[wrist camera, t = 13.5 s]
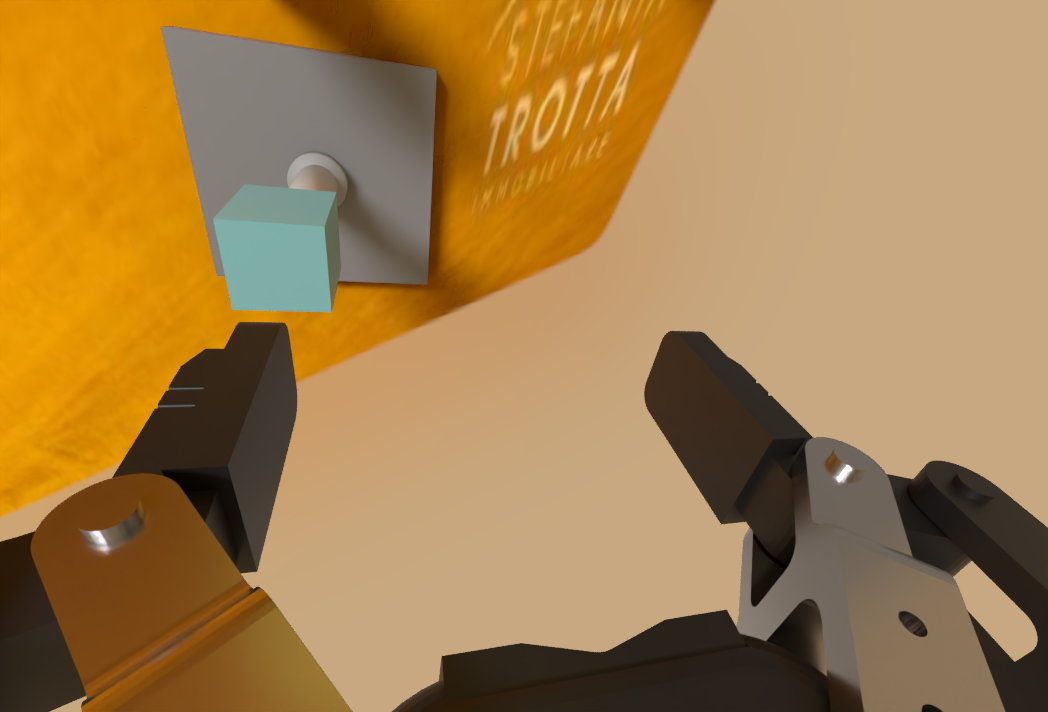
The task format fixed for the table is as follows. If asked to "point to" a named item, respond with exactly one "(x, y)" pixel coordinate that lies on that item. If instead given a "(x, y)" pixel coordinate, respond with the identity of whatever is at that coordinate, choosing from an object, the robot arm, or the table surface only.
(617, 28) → the table surface
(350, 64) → the post stand
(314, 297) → the teal cube
